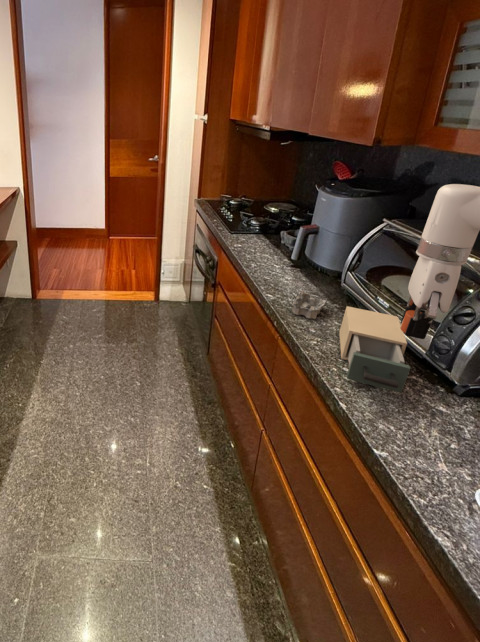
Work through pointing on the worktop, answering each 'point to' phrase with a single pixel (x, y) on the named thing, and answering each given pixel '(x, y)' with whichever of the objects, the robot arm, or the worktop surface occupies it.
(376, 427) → the worktop surface
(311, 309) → the egg carton
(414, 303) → the robot arm
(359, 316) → the wooden drawer box
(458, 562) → the worktop surface
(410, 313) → the orange cylinder
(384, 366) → the green-fronted drawer
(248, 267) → the worktop surface
